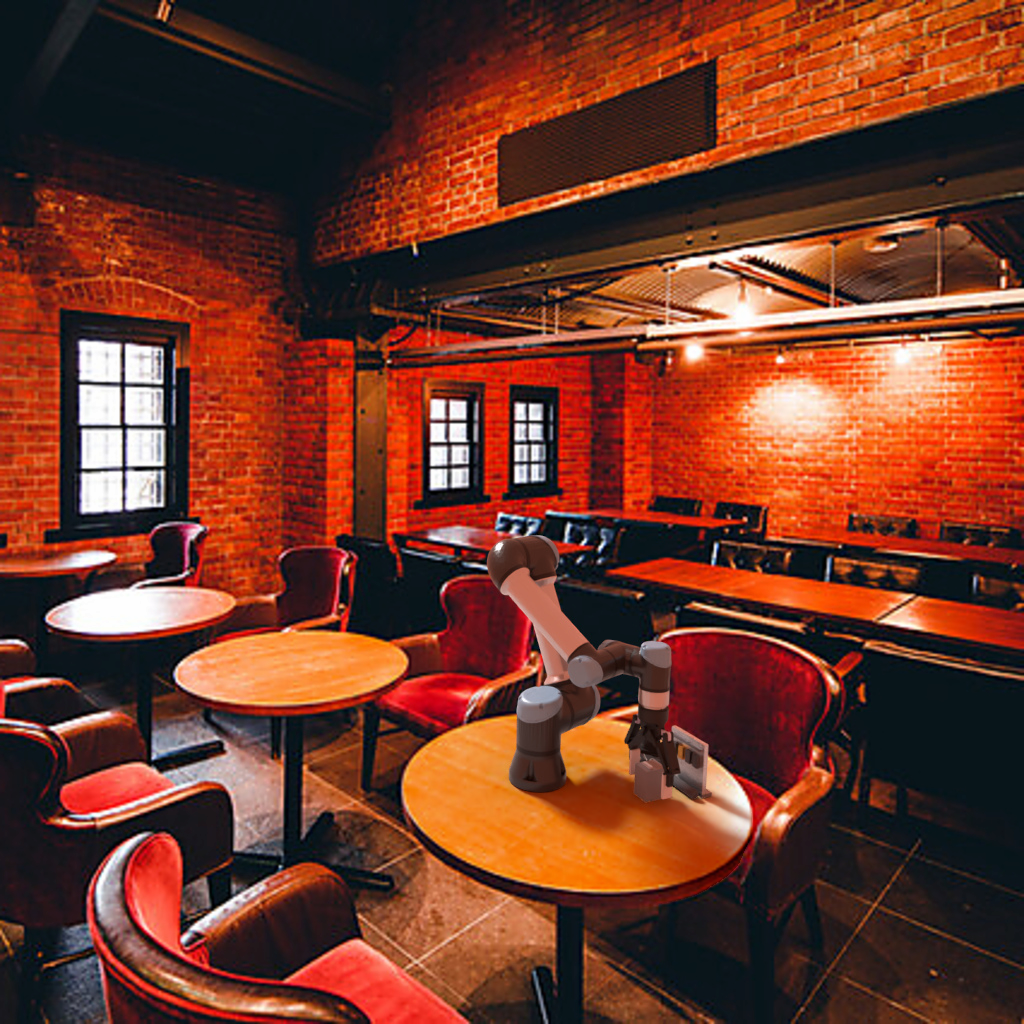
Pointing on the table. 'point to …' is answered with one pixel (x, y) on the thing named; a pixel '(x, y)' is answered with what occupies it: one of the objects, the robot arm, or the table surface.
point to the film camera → (648, 751)
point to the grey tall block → (648, 780)
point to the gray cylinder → (685, 788)
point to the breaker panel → (692, 760)
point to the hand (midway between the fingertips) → (649, 785)
